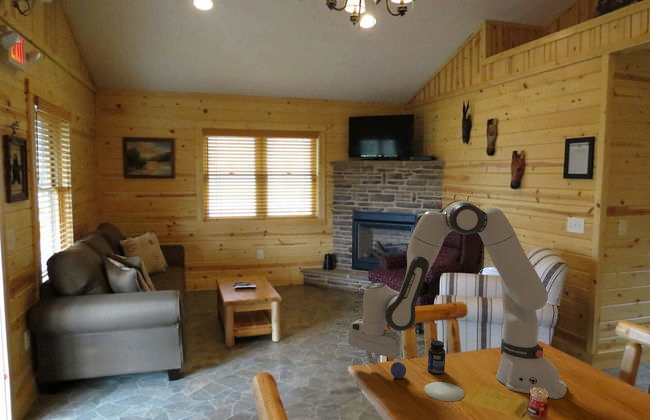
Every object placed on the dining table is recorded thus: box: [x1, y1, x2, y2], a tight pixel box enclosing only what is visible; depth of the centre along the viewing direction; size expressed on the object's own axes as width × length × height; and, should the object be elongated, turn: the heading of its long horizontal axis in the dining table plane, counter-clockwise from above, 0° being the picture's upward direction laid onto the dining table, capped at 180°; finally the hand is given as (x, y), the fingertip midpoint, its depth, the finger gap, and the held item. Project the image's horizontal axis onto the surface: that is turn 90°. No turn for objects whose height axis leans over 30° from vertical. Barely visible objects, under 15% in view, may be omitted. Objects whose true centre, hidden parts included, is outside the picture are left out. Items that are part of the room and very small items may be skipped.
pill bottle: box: [427, 339, 446, 376], centre depth 167 cm, size 6×6×11 cm
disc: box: [423, 381, 465, 403], centre depth 152 cm, size 13×13×1 cm
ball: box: [390, 361, 407, 379], centre depth 162 cm, size 6×6×6 cm
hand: (373, 363), depth 167 cm, fingers closed
